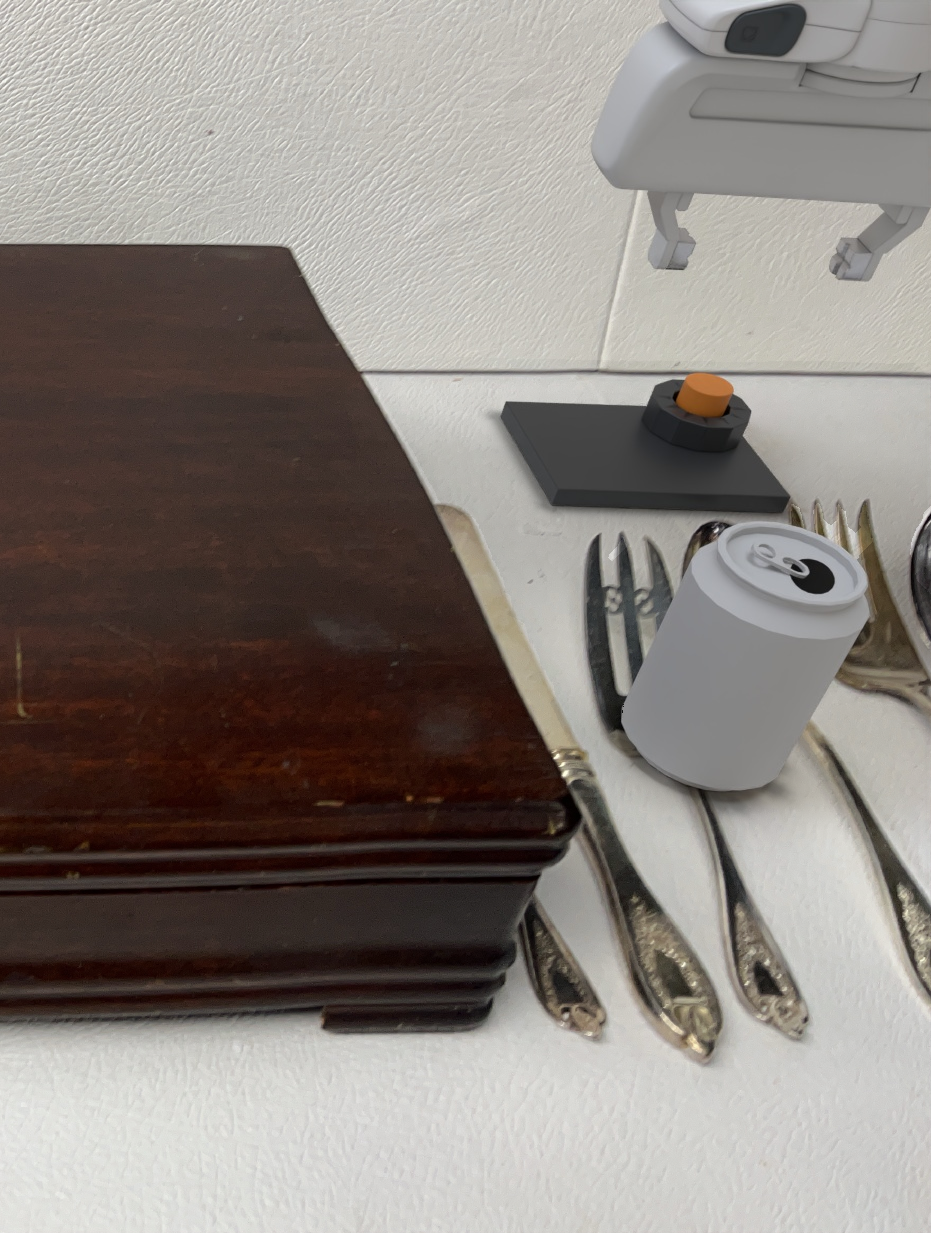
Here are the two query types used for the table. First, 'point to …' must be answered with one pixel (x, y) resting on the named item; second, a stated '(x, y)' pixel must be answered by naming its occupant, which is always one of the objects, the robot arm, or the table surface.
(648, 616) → the table surface
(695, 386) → the button
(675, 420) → the black flat block
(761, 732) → the can
